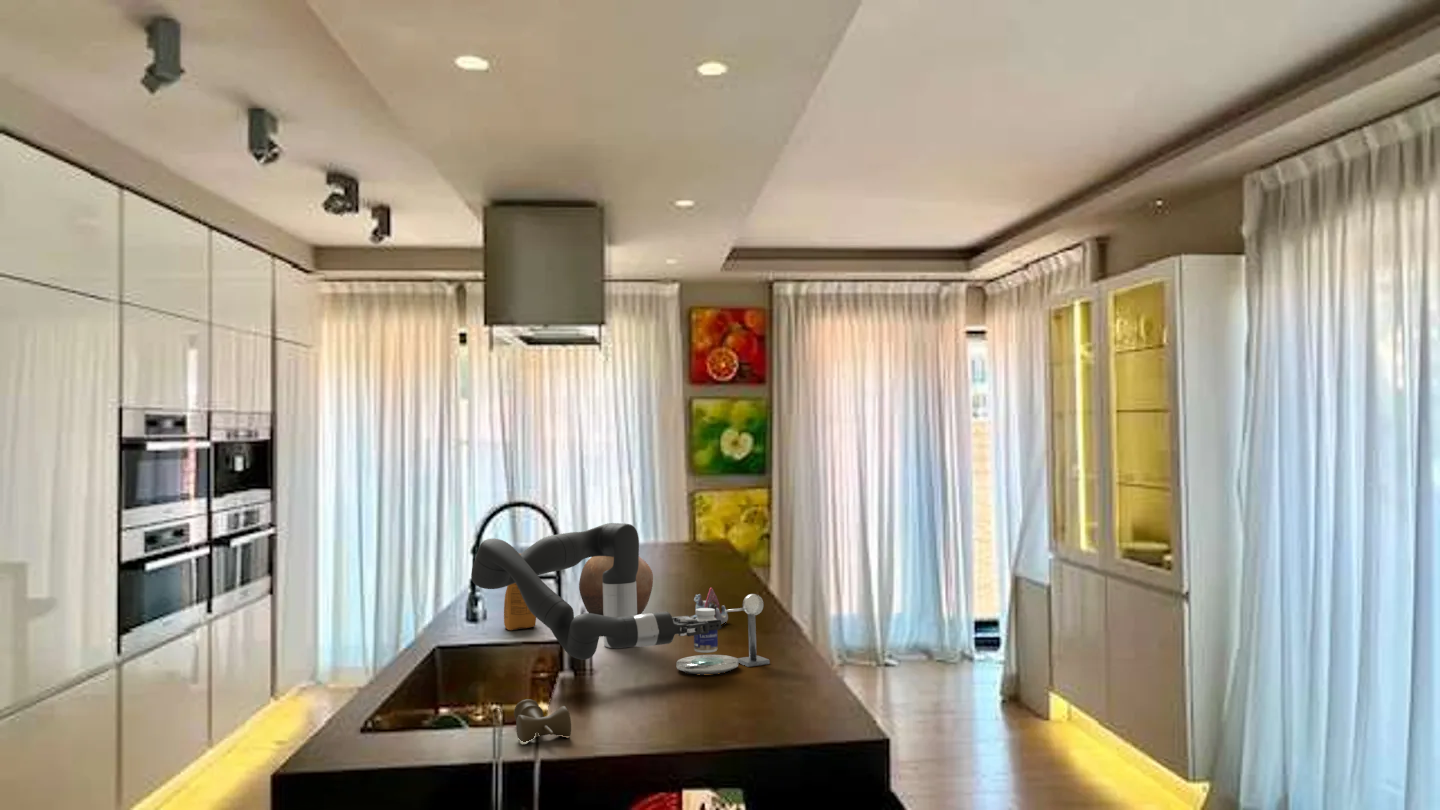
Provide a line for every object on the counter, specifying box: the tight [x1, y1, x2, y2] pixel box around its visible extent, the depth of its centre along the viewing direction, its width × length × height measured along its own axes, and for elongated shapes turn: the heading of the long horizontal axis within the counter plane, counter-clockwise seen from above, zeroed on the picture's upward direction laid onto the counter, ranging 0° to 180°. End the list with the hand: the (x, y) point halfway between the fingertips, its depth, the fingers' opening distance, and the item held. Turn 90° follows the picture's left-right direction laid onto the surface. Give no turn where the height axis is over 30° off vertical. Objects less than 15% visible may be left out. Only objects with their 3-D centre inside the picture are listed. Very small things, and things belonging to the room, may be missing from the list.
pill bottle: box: [693, 608, 719, 654], centre depth 240 cm, size 6×6×10 cm
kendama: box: [513, 698, 572, 742], centre depth 190 cm, size 6×10×20 cm
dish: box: [675, 654, 739, 675], centre depth 240 cm, size 15×15×2 cm
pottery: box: [578, 556, 654, 616], centre depth 310 cm, size 23×23×25 cm
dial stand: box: [725, 593, 771, 668], centre depth 245 cm, size 6×10×17 cm, turn 117°
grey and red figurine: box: [692, 587, 729, 624], centre depth 300 cm, size 11×11×12 cm
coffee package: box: [503, 583, 537, 631], centre depth 305 cm, size 10×12×22 cm
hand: (714, 622), depth 241 cm, fingers closed on pill bottle, 5 cm apart
